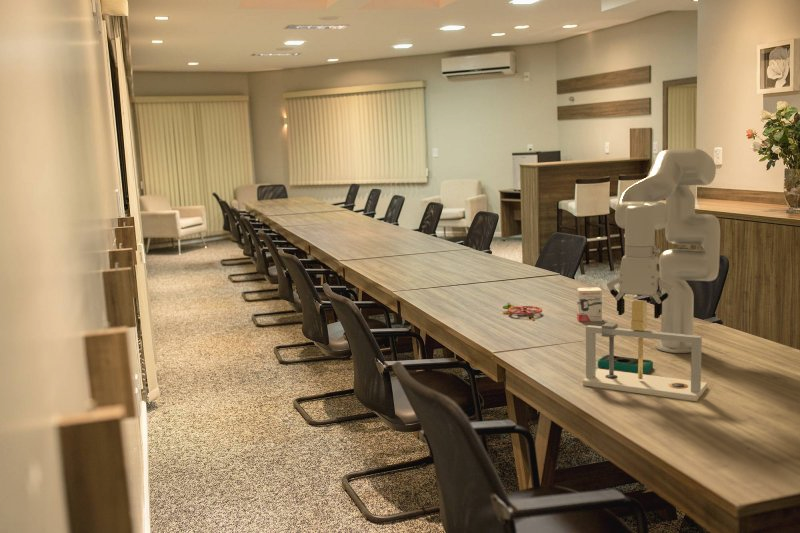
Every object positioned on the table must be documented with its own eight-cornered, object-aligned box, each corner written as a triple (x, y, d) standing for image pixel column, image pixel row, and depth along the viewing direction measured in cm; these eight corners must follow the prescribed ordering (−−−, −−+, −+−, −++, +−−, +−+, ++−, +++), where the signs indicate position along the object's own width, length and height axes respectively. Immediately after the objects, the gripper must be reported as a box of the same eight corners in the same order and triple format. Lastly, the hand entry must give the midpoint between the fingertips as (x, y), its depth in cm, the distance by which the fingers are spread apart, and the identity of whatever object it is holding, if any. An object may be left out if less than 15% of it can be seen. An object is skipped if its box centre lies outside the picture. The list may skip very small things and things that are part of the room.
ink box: (578, 321, 290) (578, 290, 288) (576, 318, 295) (576, 287, 293) (602, 321, 290) (602, 289, 288) (599, 318, 294) (599, 287, 293)
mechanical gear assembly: (515, 323, 293) (553, 321, 296) (515, 312, 293) (554, 310, 295) (491, 307, 323) (527, 305, 325) (492, 297, 322) (527, 295, 325)
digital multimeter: (605, 362, 240) (605, 353, 239) (654, 369, 231) (654, 359, 231) (595, 368, 234) (595, 359, 234) (645, 376, 225) (645, 366, 225)
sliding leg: (635, 376, 216) (636, 299, 213) (646, 378, 214) (647, 300, 211) (630, 381, 213) (631, 302, 209) (642, 382, 211) (642, 303, 208)
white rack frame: (597, 373, 228) (597, 316, 225) (707, 387, 211) (708, 326, 209) (582, 385, 218) (582, 326, 215) (696, 401, 201) (697, 337, 199)
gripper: (677, 251, 206) (676, 315, 209) (611, 248, 216) (611, 310, 218) (669, 255, 200) (668, 321, 203) (602, 252, 210) (602, 315, 212)
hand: (639, 315), depth 211 cm, fingers open, 9 cm apart
